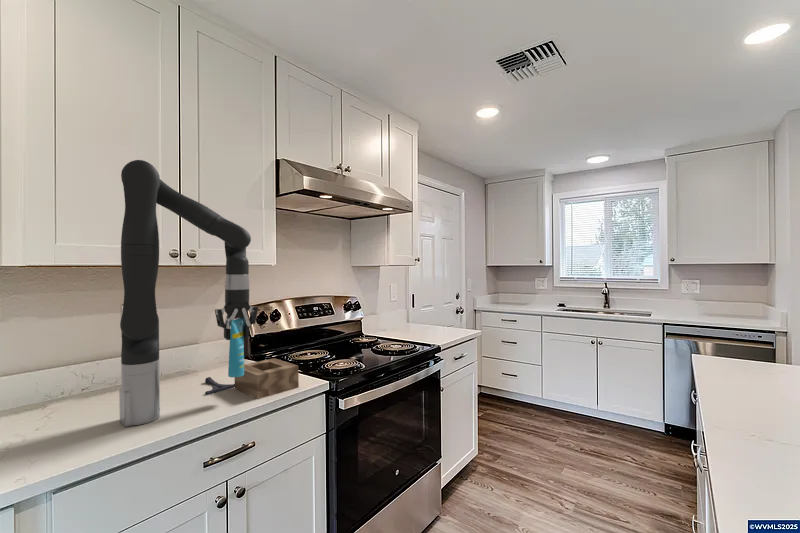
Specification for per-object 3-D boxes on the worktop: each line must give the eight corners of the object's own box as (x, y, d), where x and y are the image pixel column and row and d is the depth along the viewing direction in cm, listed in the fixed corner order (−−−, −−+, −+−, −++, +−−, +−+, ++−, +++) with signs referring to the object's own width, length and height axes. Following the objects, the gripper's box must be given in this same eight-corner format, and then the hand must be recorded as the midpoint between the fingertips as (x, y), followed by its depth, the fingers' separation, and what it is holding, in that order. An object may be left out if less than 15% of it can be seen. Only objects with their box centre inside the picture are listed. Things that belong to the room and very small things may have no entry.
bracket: (224, 379, 152) (224, 372, 152) (245, 386, 144) (245, 378, 144) (187, 389, 141) (187, 381, 141) (207, 397, 132) (207, 389, 132)
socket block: (257, 398, 128) (257, 375, 128) (234, 388, 139) (234, 366, 139) (298, 387, 140) (298, 365, 140) (274, 378, 151) (274, 358, 151)
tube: (239, 378, 123) (240, 319, 123) (224, 379, 123) (224, 319, 123) (247, 372, 130) (248, 316, 131) (233, 372, 130) (233, 316, 130)
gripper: (220, 289, 119) (219, 343, 119) (263, 287, 130) (262, 337, 130) (210, 288, 124) (210, 340, 124) (252, 286, 135) (252, 334, 135)
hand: (236, 338), depth 127 cm, fingers closed on tube, 5 cm apart
